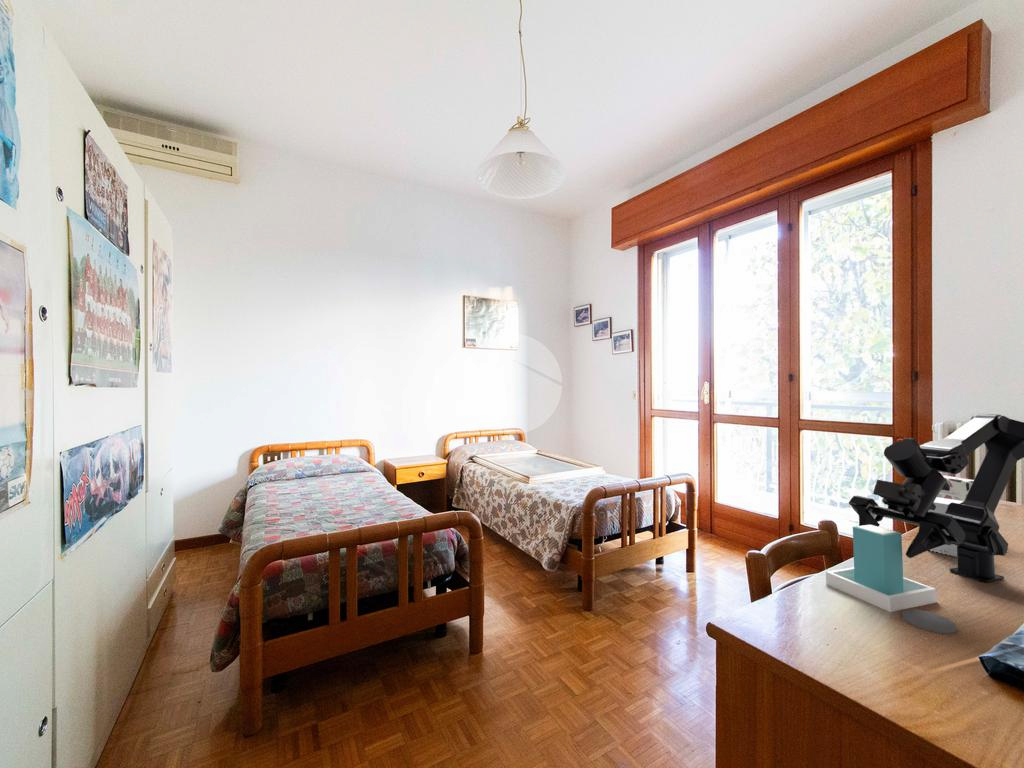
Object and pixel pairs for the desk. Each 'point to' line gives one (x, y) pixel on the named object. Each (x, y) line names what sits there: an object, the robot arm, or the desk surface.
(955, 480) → the candy bar box
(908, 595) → the white tray
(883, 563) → the teal carton
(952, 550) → the small box
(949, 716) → the desk surface
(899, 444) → the robot arm
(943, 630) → the charcoal coaster
